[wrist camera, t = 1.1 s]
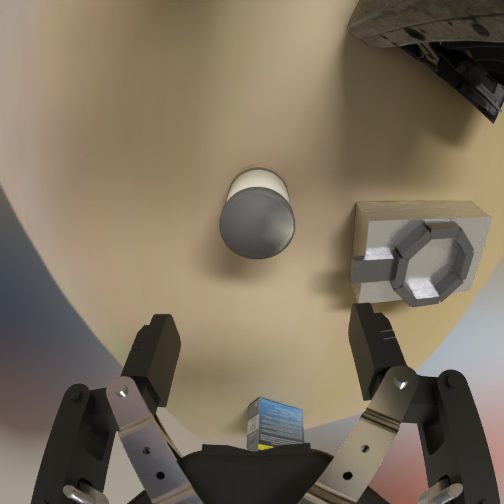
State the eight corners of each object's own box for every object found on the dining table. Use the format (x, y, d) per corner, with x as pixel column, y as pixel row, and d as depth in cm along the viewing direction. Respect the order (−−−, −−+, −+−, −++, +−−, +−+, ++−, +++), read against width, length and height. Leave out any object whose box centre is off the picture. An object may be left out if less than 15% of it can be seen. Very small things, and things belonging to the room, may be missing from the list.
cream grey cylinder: (226, 166, 26) (214, 194, 20) (286, 162, 25) (293, 189, 19) (233, 220, 28) (224, 261, 22) (288, 216, 28) (295, 256, 22)
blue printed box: (247, 405, 46) (243, 471, 35) (259, 396, 44) (258, 466, 34) (289, 417, 48) (292, 479, 38) (303, 409, 46) (308, 473, 36)
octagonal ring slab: (342, 202, 27) (359, 230, 22) (471, 201, 26) (499, 224, 21) (338, 281, 32) (348, 316, 27) (454, 269, 31) (475, 298, 26)
